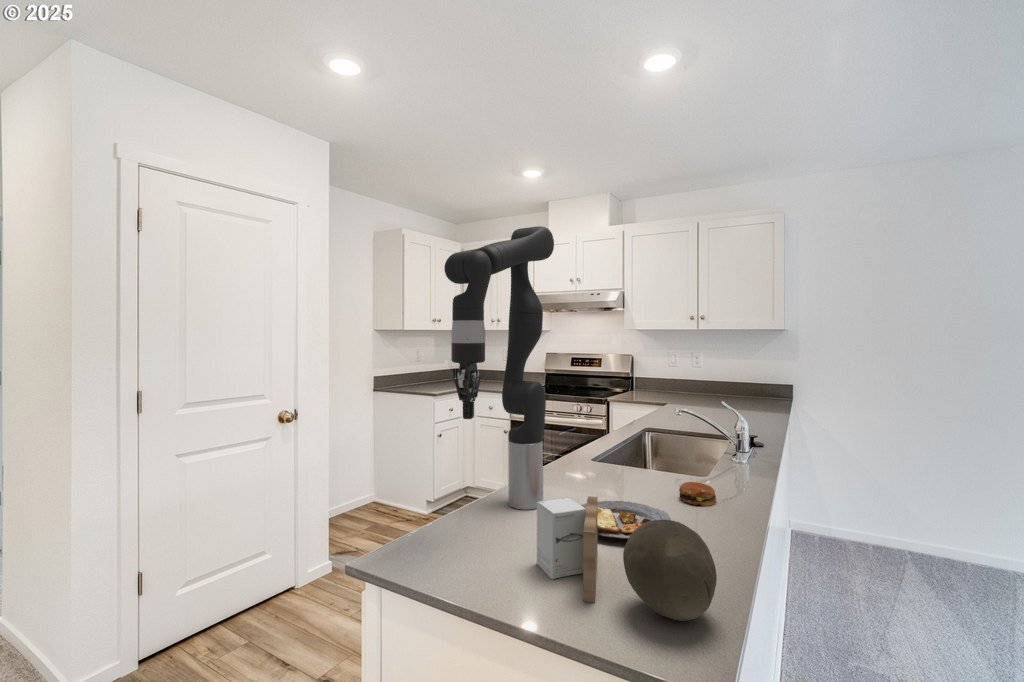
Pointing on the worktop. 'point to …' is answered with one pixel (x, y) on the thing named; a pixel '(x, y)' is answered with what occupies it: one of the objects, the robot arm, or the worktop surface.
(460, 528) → the worktop surface
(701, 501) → the burger
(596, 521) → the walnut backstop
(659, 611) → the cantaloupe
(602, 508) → the food plate
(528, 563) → the worktop surface
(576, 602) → the worktop surface
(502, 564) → the worktop surface
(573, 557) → the supplement box
